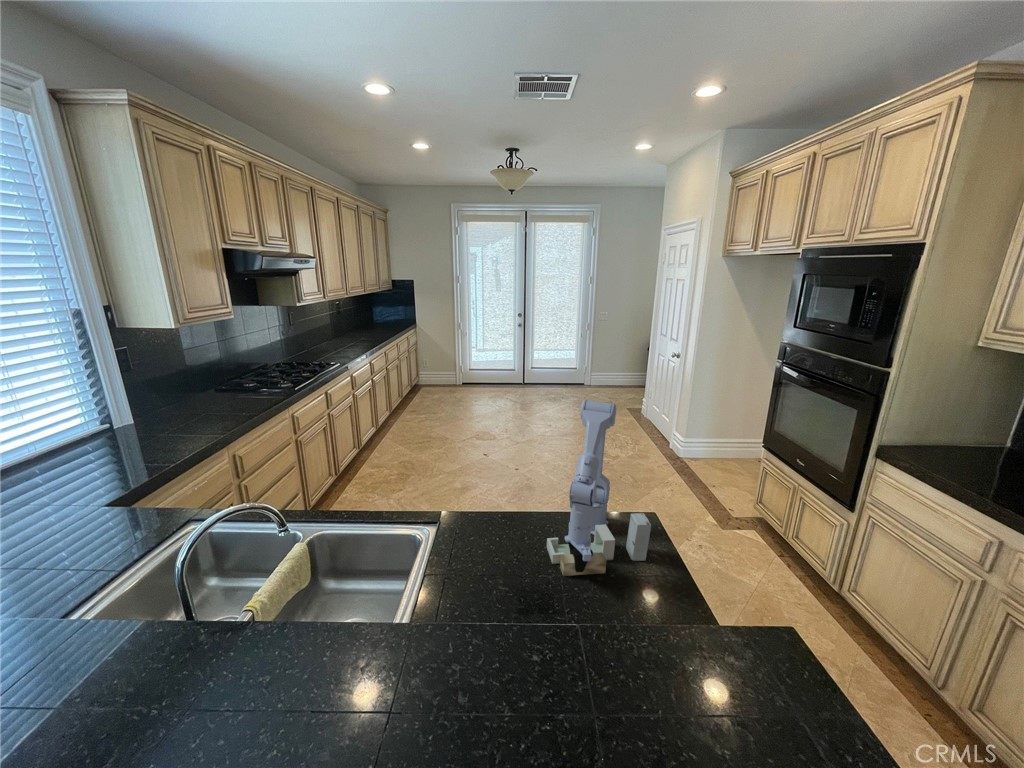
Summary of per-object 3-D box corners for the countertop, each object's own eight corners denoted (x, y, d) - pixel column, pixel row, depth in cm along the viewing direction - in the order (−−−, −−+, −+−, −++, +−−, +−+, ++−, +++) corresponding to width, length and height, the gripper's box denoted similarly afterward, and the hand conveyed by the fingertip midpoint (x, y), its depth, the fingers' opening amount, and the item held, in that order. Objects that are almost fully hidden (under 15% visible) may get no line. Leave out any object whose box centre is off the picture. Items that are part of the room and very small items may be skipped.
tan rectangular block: (600, 564, 114) (602, 552, 113) (605, 573, 111) (606, 560, 110) (559, 567, 113) (560, 555, 112) (563, 576, 109) (563, 563, 108)
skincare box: (625, 547, 122) (629, 512, 118) (639, 547, 122) (644, 512, 119) (632, 561, 116) (636, 524, 113) (647, 561, 116) (651, 524, 113)
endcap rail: (604, 543, 123) (605, 524, 122) (613, 559, 116) (615, 539, 114) (546, 546, 121) (547, 527, 119) (552, 564, 114) (553, 543, 112)
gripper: (559, 508, 114) (557, 550, 118) (573, 540, 100) (570, 586, 104) (583, 507, 115) (580, 548, 118) (600, 538, 101) (596, 584, 105)
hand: (577, 566), depth 111 cm, fingers closed on tan rectangular block, 3 cm apart
